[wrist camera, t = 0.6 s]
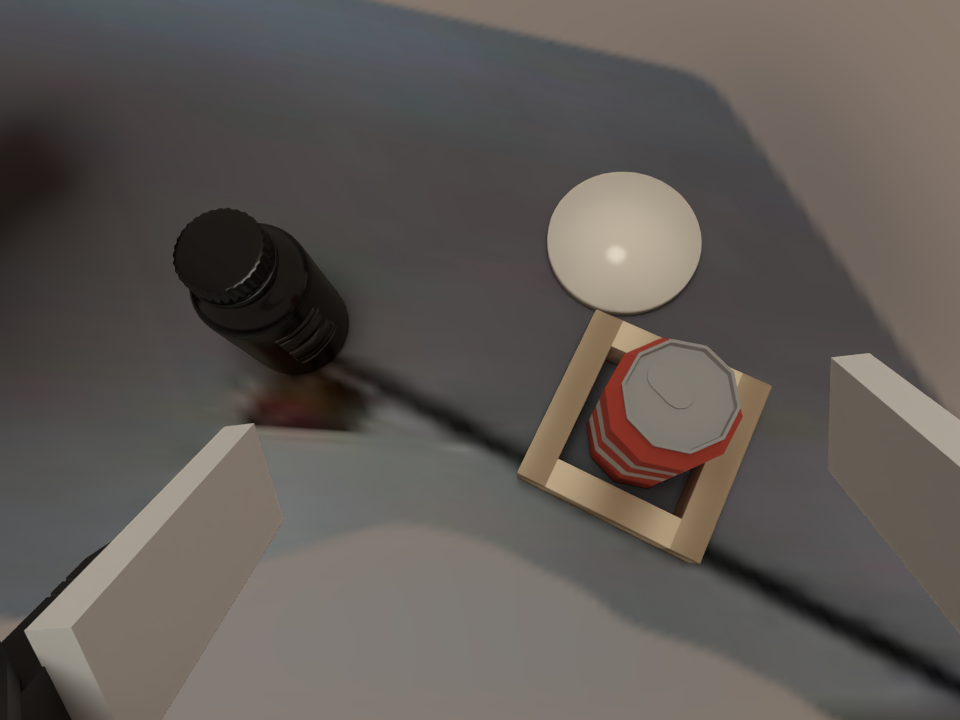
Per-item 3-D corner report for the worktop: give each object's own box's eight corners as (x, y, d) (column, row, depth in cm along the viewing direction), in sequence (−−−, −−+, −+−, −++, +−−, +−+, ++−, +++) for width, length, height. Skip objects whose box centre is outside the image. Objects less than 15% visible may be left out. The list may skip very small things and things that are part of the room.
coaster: (522, 278, 44) (522, 272, 43) (584, 159, 46) (585, 150, 45) (662, 340, 42) (665, 335, 41) (720, 213, 44) (724, 205, 43)
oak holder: (517, 477, 40) (517, 472, 38) (591, 325, 43) (596, 309, 40) (686, 562, 38) (699, 563, 36) (754, 397, 41) (771, 386, 38)
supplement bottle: (341, 269, 45) (277, 175, 34) (358, 362, 43) (296, 296, 32) (243, 292, 45) (147, 206, 34) (256, 386, 43) (158, 329, 32)
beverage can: (635, 368, 42) (677, 301, 30) (709, 443, 40) (783, 402, 29) (565, 431, 41) (580, 387, 29) (637, 510, 39) (684, 496, 28)
